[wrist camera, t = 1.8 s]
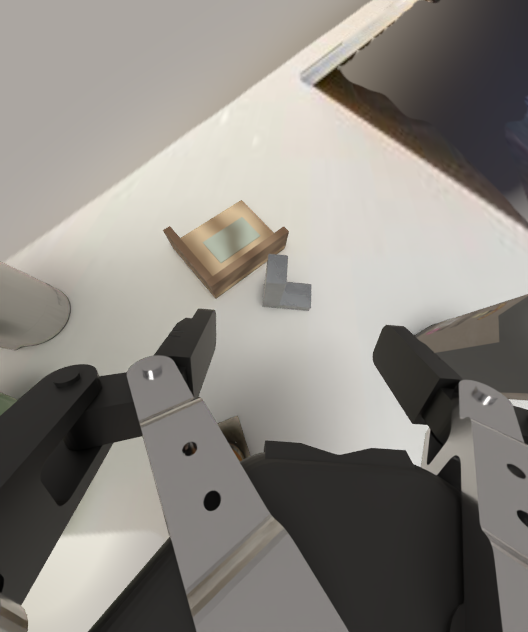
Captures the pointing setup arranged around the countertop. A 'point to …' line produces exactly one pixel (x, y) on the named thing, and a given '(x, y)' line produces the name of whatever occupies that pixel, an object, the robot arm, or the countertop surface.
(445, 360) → the liquor
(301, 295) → the bracket
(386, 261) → the countertop surface
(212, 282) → the walls
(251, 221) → the tray
